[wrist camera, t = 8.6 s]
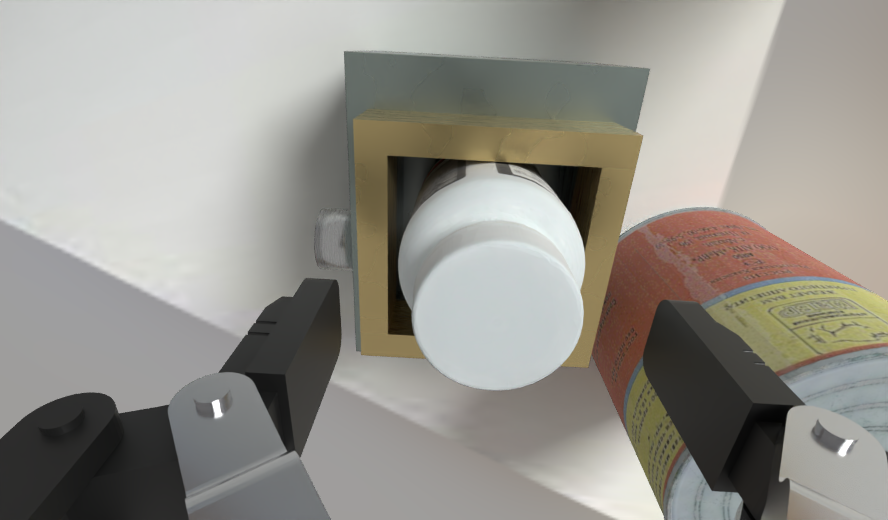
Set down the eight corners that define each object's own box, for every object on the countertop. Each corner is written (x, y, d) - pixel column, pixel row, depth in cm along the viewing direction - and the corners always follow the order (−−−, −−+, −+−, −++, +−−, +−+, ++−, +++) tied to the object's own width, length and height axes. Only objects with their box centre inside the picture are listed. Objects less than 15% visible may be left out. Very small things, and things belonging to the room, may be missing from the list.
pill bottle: (434, 271, 20) (409, 428, 11) (406, 155, 18) (348, 234, 9) (553, 250, 20) (626, 398, 11) (536, 127, 18) (609, 182, 9)
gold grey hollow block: (329, 48, 20) (250, 47, 12) (597, 63, 20) (686, 72, 12) (342, 283, 25) (292, 387, 17) (554, 295, 25) (598, 404, 17)
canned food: (696, 404, 28) (846, 624, 17) (540, 341, 27) (600, 543, 16) (831, 258, 24) (1146, 434, 13) (655, 171, 22) (849, 289, 11)
